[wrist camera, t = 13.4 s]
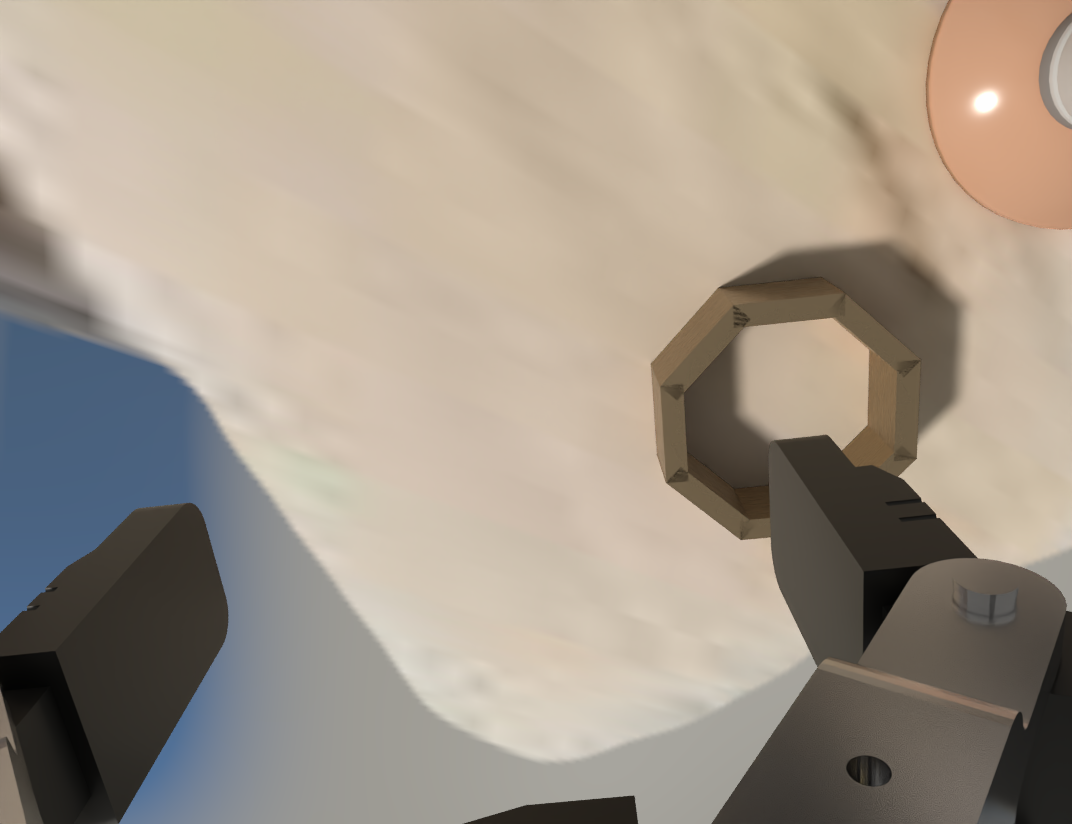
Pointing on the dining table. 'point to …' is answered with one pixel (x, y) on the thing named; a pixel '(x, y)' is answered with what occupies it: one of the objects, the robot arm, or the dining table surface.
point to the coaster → (1000, 109)
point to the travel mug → (1058, 74)
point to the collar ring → (771, 303)
